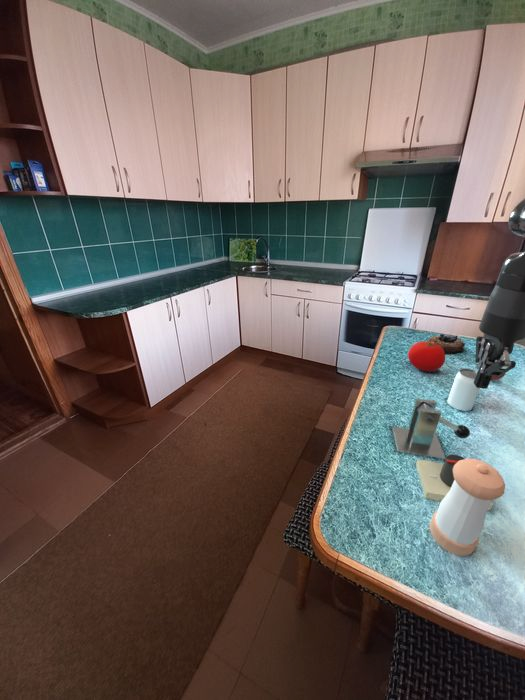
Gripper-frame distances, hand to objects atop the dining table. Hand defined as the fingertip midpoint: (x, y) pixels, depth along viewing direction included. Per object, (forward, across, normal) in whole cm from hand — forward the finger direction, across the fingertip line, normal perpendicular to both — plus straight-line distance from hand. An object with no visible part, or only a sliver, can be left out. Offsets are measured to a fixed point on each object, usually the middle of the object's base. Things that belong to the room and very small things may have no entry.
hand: (479, 386), depth 63 cm
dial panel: (+21, -11, +4) cm, 24 cm away
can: (+21, +22, -7) cm, 31 cm away
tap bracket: (+21, +1, +8) cm, 22 cm away
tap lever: (+13, +1, +4) cm, 14 cm away
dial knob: (+18, -11, +4) cm, 21 cm away
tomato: (+21, +45, -2) cm, 49 cm away
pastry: (+21, +65, -14) cm, 70 cm away
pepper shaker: (+21, -23, +6) cm, 31 cm away
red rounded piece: (+21, +41, -23) cm, 51 cm away
